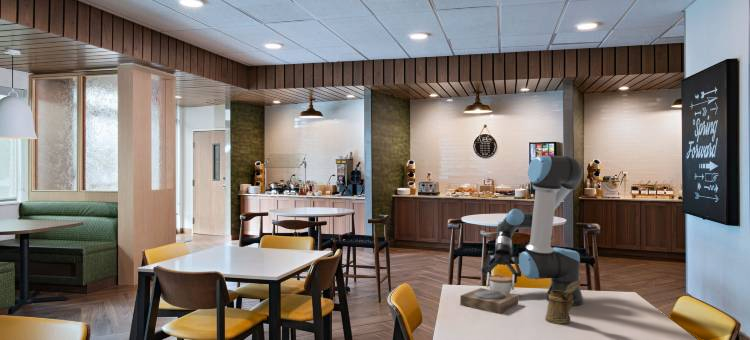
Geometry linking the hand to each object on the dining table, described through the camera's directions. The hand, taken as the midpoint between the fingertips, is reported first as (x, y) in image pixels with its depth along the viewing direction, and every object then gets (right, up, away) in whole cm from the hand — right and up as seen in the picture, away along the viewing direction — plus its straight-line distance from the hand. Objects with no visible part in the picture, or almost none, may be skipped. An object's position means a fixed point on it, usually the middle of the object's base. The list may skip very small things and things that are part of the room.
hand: (500, 287), depth 232 cm
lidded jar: (+1, -4, +3) cm, 5 cm away
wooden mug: (+15, -5, -37) cm, 40 cm away
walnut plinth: (-8, -4, -14) cm, 17 cm away
